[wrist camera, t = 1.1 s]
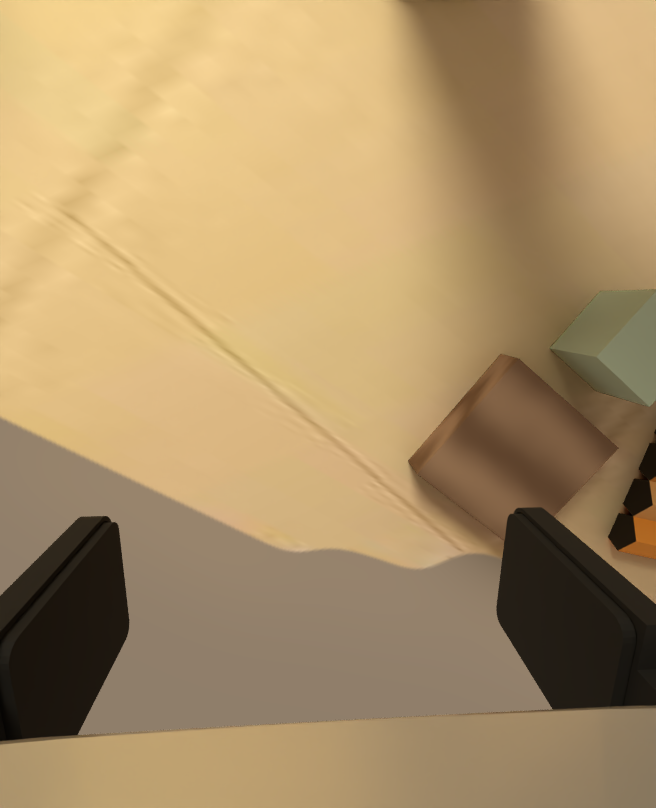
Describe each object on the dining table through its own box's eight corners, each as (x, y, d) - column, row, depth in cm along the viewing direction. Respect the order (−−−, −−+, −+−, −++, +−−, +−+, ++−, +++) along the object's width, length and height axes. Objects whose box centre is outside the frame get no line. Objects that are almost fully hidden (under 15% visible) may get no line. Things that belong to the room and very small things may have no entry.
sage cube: (599, 291, 36) (657, 289, 30) (645, 336, 37) (710, 343, 31) (549, 348, 37) (596, 356, 31) (595, 390, 38) (649, 406, 32)
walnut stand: (501, 354, 36) (518, 358, 33) (594, 437, 39) (618, 448, 36) (408, 461, 38) (417, 474, 35) (503, 534, 40) (519, 552, 37)
